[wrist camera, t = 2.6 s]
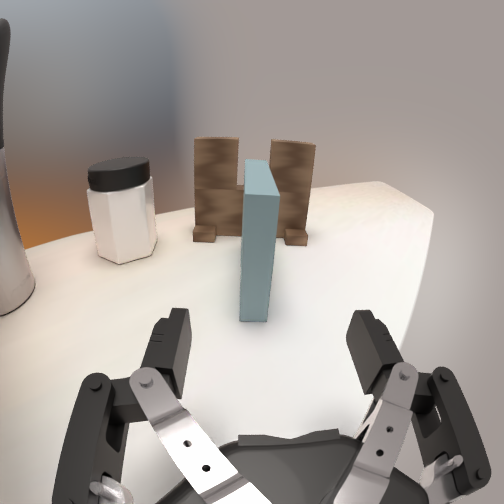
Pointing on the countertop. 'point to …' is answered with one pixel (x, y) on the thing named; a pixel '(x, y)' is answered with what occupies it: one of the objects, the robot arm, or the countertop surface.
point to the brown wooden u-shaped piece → (231, 195)
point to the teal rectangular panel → (257, 240)
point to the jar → (122, 208)
